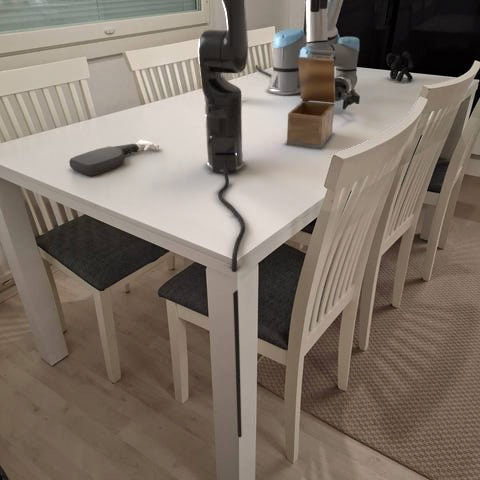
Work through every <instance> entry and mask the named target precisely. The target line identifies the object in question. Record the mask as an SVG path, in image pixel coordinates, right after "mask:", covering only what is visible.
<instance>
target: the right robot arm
mask: <svg viewBox="0 0 480 480" xmlns="http://www.w3.org/2000/svg"><path fill="white" fill-rule="evenodd" d="M343 2H344V0H328V7H327V9H320V10H319V12H311V0H305V31H304V29H303V28H300V27H299V28H297V27H296V28H287V29H283V30H279V31H277V32H276V33H275V34H274V36H273V43H272V47H273V48H272V49H273V51H272V53H273V55H272V56H273V57H272V73H268V72H267V71H265V70H262V69H260V68H258V64H256V65H255V69H256V70H257V71H258V72H260V73H261V74H264V75H266V76H268V77H270V80H269V82H268V85H267V86H268V87H267V88H268V89H267V91H268V92H269V93H270V94H273V95H280V96H295V95H300V99H301V102H302V101H306V100H302V95H301V86H300V76H299V67H298V58H299V57H310V55H311V50H325V51H335V57H333V59H334V68H335V102H340V101H342V110H346V109H347V108H348V107H349V106H351V105H353V104H354V103H355V104H356V105H359V104H360V101H361V100H360V99H361V95H360V94H358V93H357V92H356V89H355V87H356V86H357V82H358V76H357V71H358V70H357V69H358V68H357V67H358V60H359V53H360V38H358V37H356V36H342V37H340V33H338V32H339V31H338V28H337V26H336V25H337V22H338V19H339V15H340V12H341V9H342V6H343ZM313 58H327V59H330V57H323V56H313ZM308 102H310V101H308Z"/></svg>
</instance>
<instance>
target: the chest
mask: <svg viewBox="0 0 480 480" xmlns="http://www.w3.org/2000/svg"><path fill="white" fill-rule="evenodd" d="M334 114H335V103H328V102H317V101H309V102H308V101H302V100H301V101H300V102H299V103H298V104H297V105H296V106H295V107H293V109H291V110H290V111H289V112H288V113H287V131H286V132H287V133H286V136H287V137H286V145H287V146H295V147H301V148H310V149H318V150H321V149H322V147H323V146H324V145H325V144H326V142H327V141H328V140H329V138H330V137H331V135H332V134H333V125H334V116H335V115H334Z"/></svg>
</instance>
